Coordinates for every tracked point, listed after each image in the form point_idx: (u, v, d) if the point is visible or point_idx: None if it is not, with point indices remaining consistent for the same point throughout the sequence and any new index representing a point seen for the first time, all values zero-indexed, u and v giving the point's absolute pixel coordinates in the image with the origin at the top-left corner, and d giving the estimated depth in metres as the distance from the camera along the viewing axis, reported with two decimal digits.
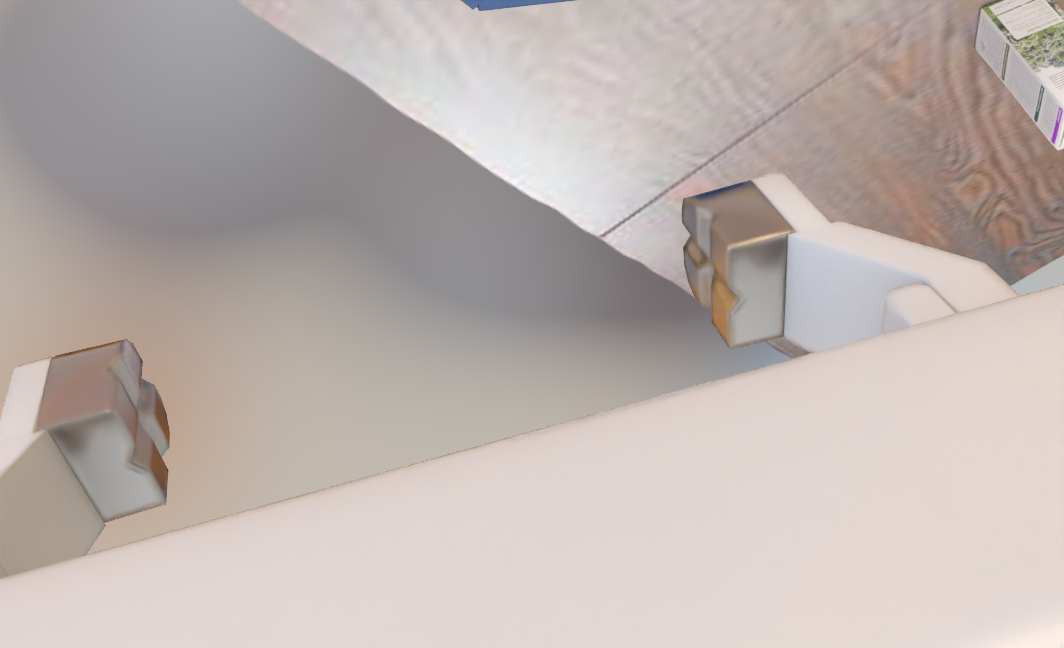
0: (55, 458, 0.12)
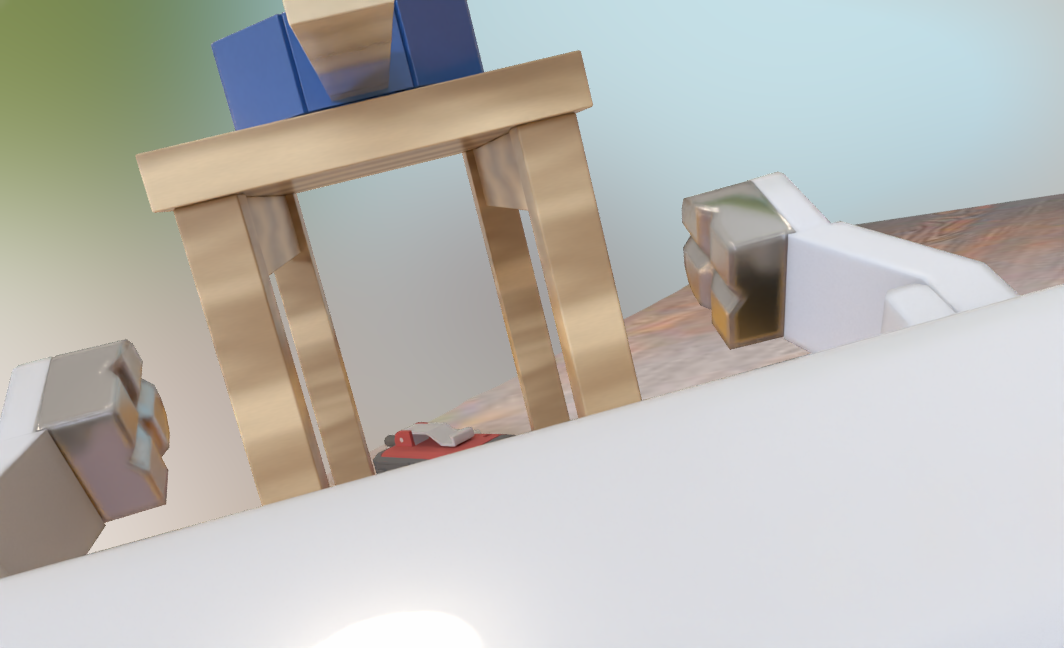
0: (55, 458, 0.12)
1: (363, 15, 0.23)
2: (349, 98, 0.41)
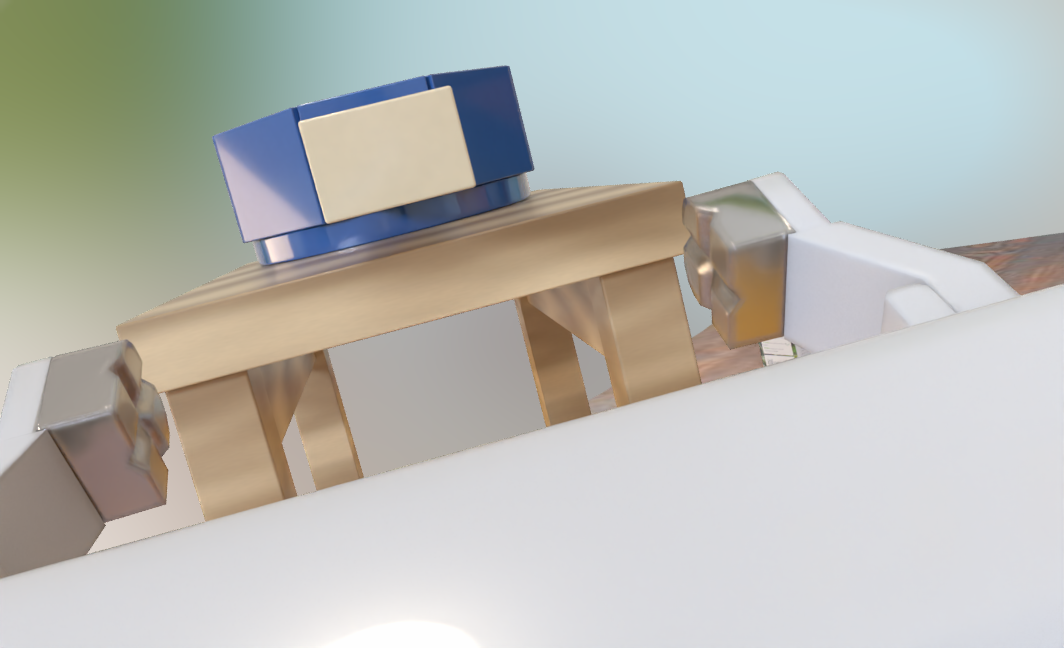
0: (55, 458, 0.12)
1: None
2: None
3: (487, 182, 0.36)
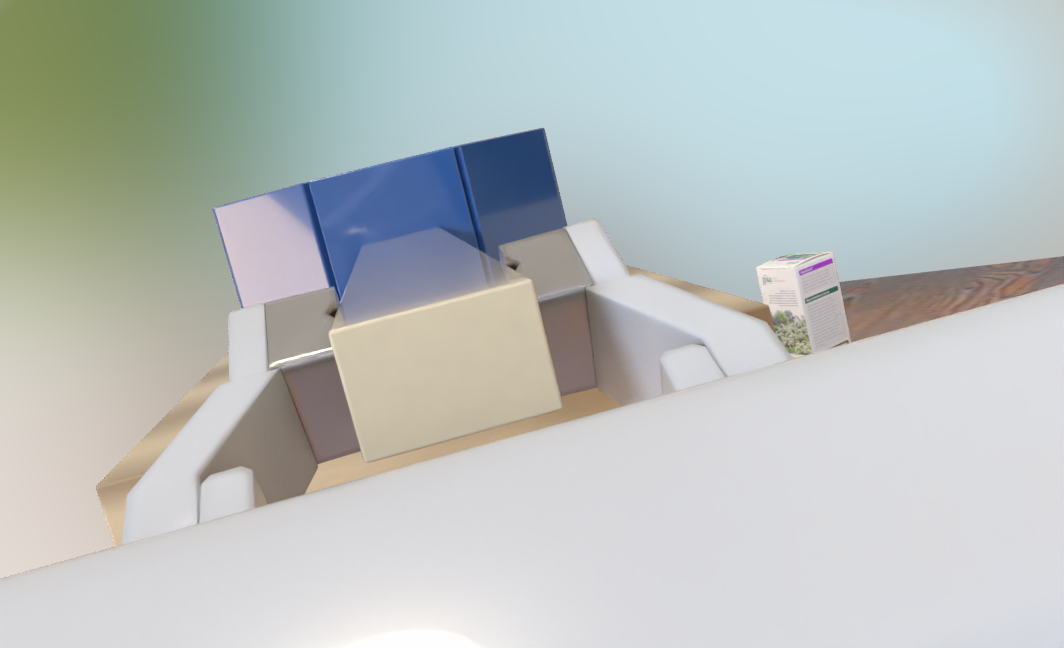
0: (285, 397, 0.13)
1: None
2: None
3: None
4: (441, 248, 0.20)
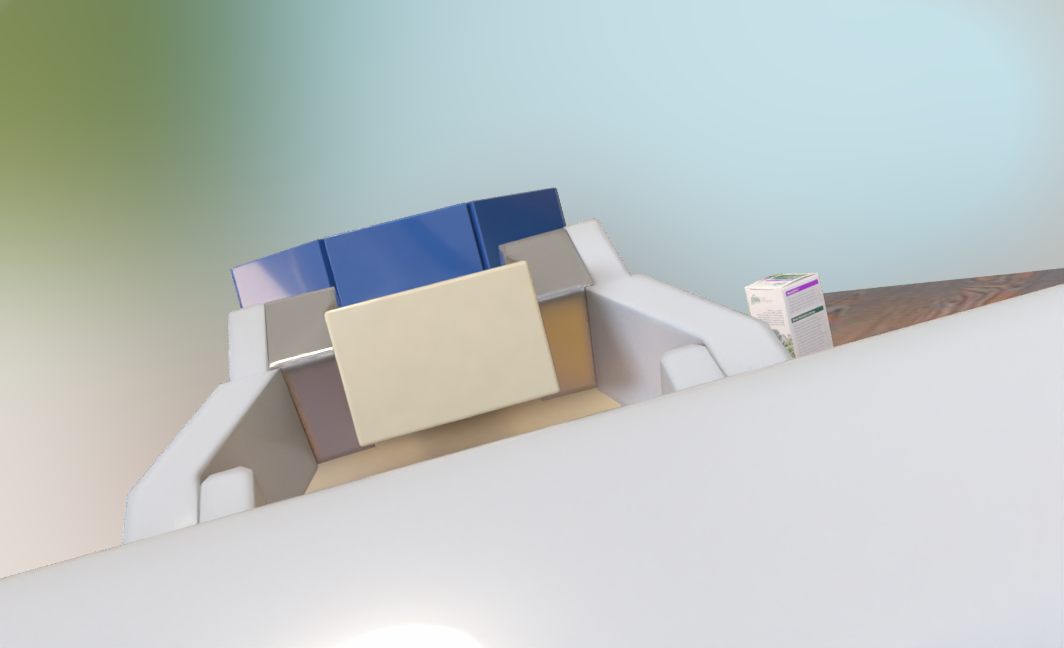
0: (285, 397, 0.13)
1: None
2: None
3: None
4: None
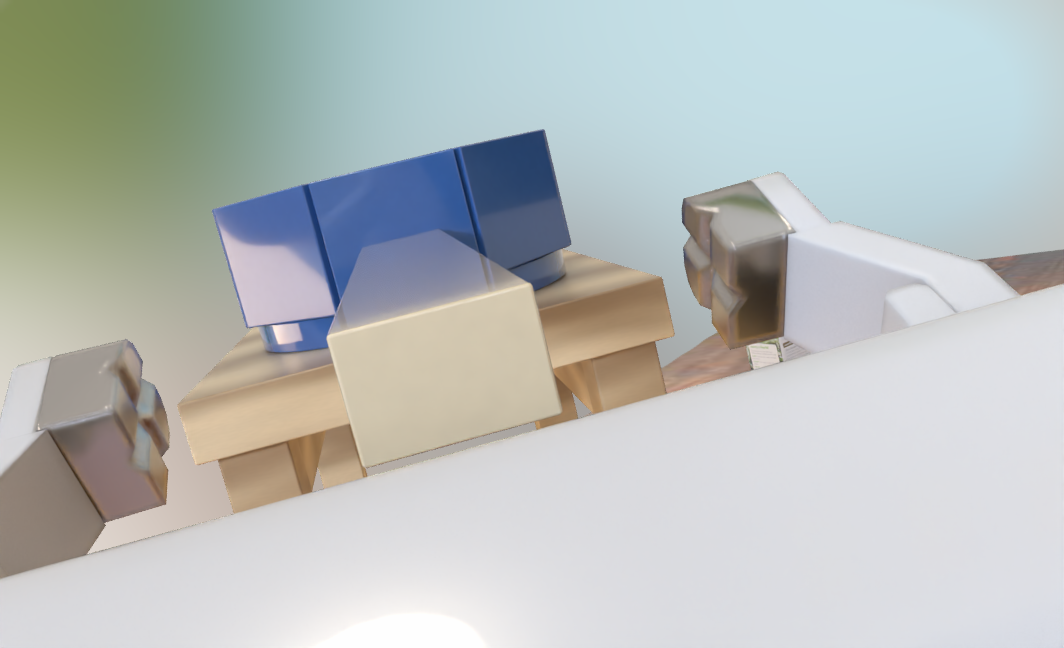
0: (55, 458, 0.12)
1: None
2: None
3: (521, 264, 0.32)
4: (441, 250, 0.20)
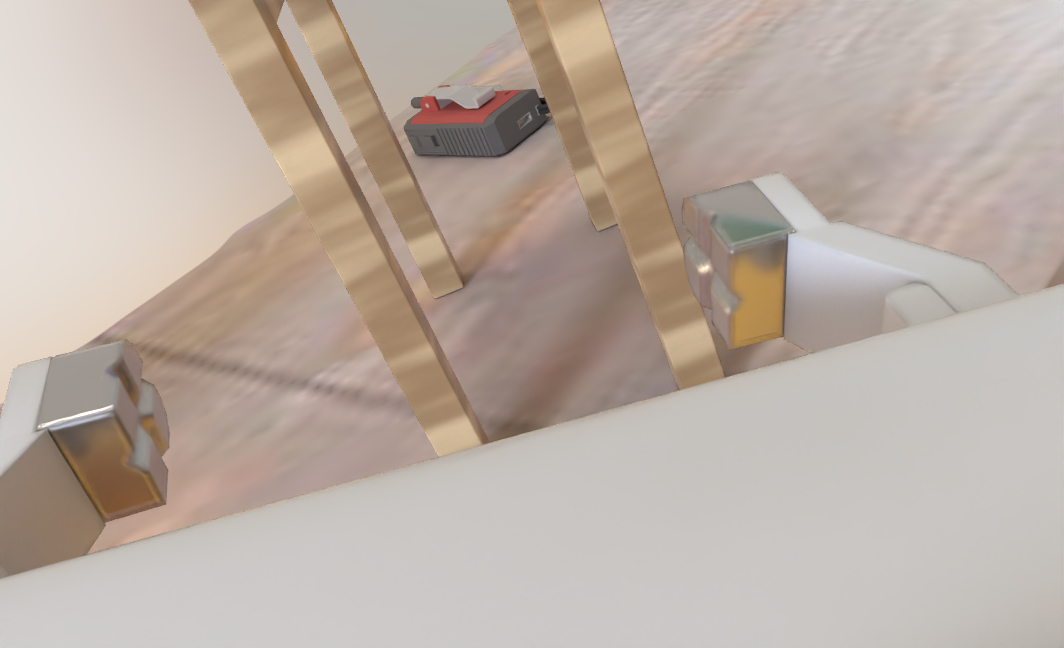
0: (55, 458, 0.12)
1: None
2: None
3: None
4: None
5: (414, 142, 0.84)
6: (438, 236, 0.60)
